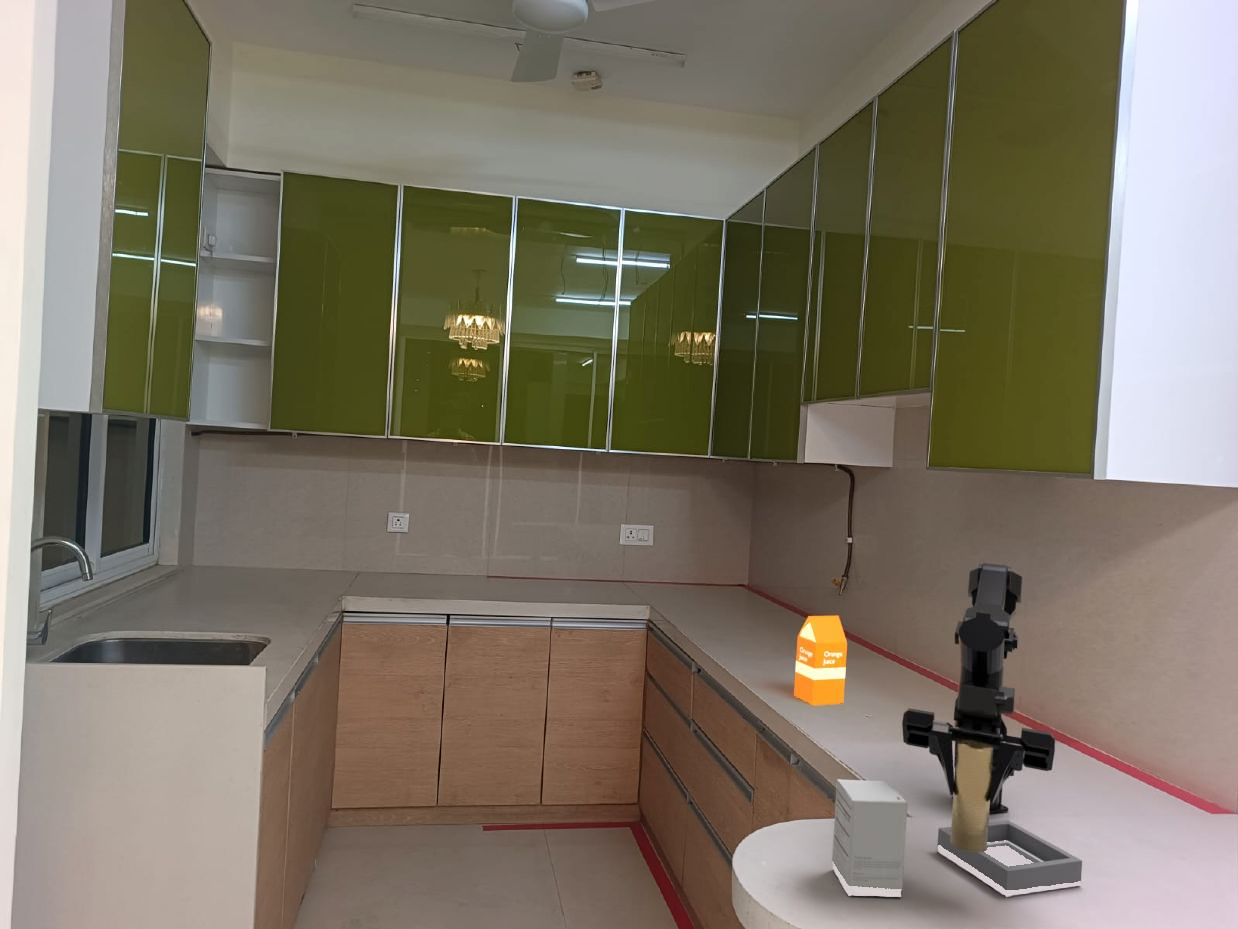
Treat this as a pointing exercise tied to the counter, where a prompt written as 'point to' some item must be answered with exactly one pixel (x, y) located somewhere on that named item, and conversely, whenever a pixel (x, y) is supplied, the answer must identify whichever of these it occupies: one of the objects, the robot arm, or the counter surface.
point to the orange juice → (821, 661)
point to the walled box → (1047, 857)
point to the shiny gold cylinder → (971, 795)
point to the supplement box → (869, 833)
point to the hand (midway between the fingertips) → (971, 798)
